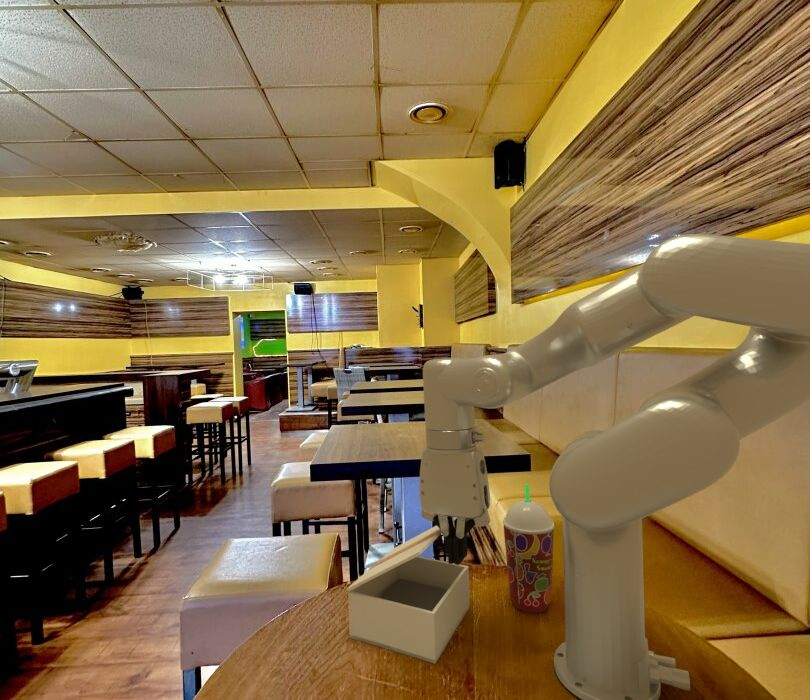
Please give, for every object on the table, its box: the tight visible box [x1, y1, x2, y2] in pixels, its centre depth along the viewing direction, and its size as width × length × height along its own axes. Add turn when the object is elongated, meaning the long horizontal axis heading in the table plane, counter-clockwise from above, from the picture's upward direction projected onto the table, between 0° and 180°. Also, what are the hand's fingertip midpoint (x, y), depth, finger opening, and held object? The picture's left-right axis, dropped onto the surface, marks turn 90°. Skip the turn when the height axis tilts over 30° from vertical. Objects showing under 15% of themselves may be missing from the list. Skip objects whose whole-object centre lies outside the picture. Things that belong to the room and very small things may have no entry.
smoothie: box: [502, 483, 555, 614], centre depth 75 cm, size 8×8×20 cm
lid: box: [346, 517, 457, 593], centre depth 72 cm, size 14×16×1 cm
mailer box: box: [347, 555, 471, 664], centre depth 71 cm, size 14×15×7 cm
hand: (456, 560), depth 68 cm, fingers closed
